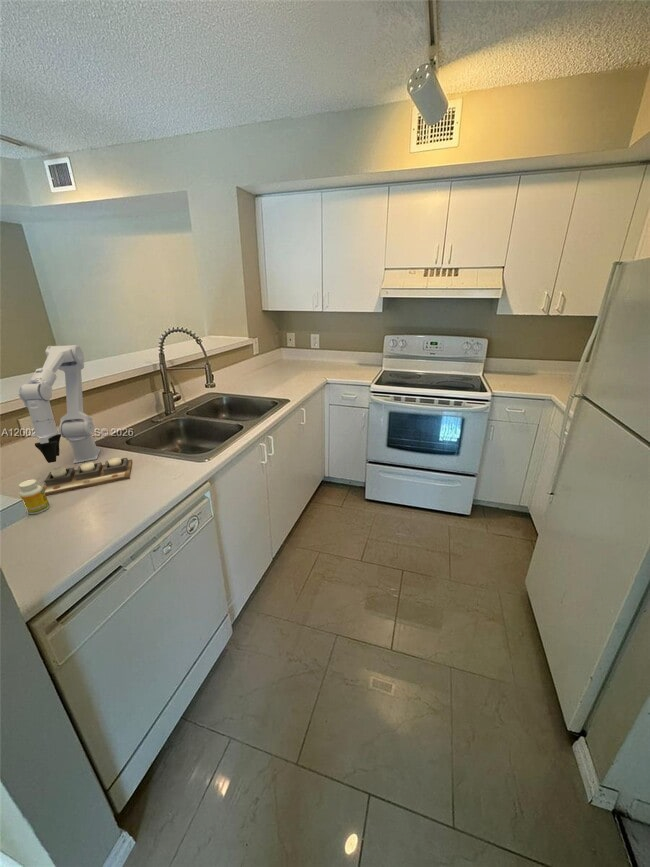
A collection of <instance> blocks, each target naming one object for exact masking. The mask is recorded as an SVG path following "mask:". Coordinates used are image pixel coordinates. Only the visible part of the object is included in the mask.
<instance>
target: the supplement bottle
mask: <svg viewBox="0 0 650 867" xmlns="http://www.w3.org/2000/svg"><path fill="white" fill-rule="evenodd" d="M18 487H19V489H20V491H19V496H20V498H21V500H22V499H23V500H24V502H25V505H26V507H27V510H28V512H27V513H28V514H30V515H37V514H41V513H43V512H45V511H46V510H48V509H49V508H50V502H49V500H48V498H47V496H46V495H45V493H44V490H43V486H41V485H40V484H38V481H37V480H36V479H28V480H25V481H22V482H20V483H19V484H18ZM25 505H24V506H25ZM26 507H25V508H26ZM27 510H26V511H27Z"/></svg>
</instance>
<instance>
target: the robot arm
mask: <svg viewBox="0 0 650 867" xmlns="http://www.w3.org/2000/svg"><path fill="white" fill-rule="evenodd" d="M44 352H45V355H46V359H45V361H44V363H43V365H42V367H39V368H36V369H35V371H34V373H33V374H32V376H31V378H30V379H29V381H28V382H27V383H24V384H22V385H21V386H20V387H19V388H18V397H19V398H20V400H21V401H22V402H23V405H24V406H25V408H27V410H28V412H29V416H30V420H31V424H32V427H33V430H34V431H33V432H34V433H33V434H31V435H30V437H31V438H36V439H39V441H38V442H35V443H34V447H35V448H36V449H38V450H39V451H40V452H41V454H42V455H43V457H44V458H45V461H46V462H47V463H48V464H51V463H56V462H57V457H58V456H60V441H61V437H62V438H63V439H66V441H68V442H69V445H70V448H71V450H72V453H73V455H74V459H73V461H72V464H79V463H84V461H85V462H91V461H95V460H97V459H98V457H99V454H100V452H101V449H100V448H97V444H96V441H95V438H94V436H93V434H94V433H95V426H94V422H93V418H92V416H90V415H89V414H86V413H85V412H84V399H83V383H82V370H83V369H84V368H85V356H84V351H83V350H82V348H81V347H80V346H79V345H77V344H73V345H72V344H71V345H48V346H47V347H46V349H45V351H44ZM58 370H59V371H63V372H64V377H65V378H64V380H65V381H64V382H65V394H66V398H65V400H66V413H65V414H64V415H63V416H61V417H60V418H59V420H60V421H59V422H60V423H59V426H58V428H57V424H56V421H55V417H54V413H53V410H52V406H51V402H50V400H51V399H52V396H53V392H52V391H53V385H54V383H55V382H56V380H57V375H56V372H57V371H58ZM90 460H91V461H90ZM78 462H79V463H78Z"/></svg>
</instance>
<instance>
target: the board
mask: <svg viewBox="0 0 650 867" xmlns="http://www.w3.org/2000/svg"><path fill="white" fill-rule="evenodd" d="M121 461H122V465H121V466H115V467H110V466H109V463H108V460H107V461H105V464H103V463H102V462H96V463H94V466H95V470H94V471H89V472H84V473H82V470H81V467H80V466H81V465H80V466H78V467H77V469H75V467H74V466H73V467H68V468H65V469H66V472H67V476H63V477H57V478H53V476H52V474H51V471H49V473H48V474H47V476H46V478H45V479H44V485H43V486H42V488H43V490H44V493H45V495H46V497H47V496H52V495H58V494H62V493H66V492H67V493H68V492H71V491H76V490H81V489H86V488H92V487H97V486H101V485H105V484H111V483H115V482H120V481H126V480H129V479H130V478H131V472H132V467H133V459H128V457H122V458H121Z"/></svg>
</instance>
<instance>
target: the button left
mask: <svg viewBox="0 0 650 867" xmlns="http://www.w3.org/2000/svg"><path fill="white" fill-rule="evenodd" d="M66 469H67V468H66V467H65V466H62V467H61V466H60V467H57V468H54V469H52V470H51V471H50V472H51V474H52V476H53V478H57V477H63V476H67V472H66Z"/></svg>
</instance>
